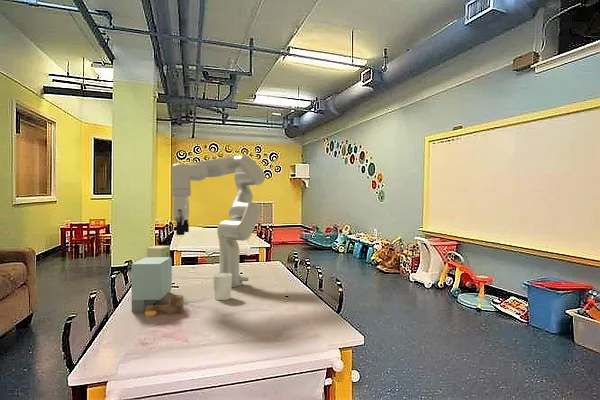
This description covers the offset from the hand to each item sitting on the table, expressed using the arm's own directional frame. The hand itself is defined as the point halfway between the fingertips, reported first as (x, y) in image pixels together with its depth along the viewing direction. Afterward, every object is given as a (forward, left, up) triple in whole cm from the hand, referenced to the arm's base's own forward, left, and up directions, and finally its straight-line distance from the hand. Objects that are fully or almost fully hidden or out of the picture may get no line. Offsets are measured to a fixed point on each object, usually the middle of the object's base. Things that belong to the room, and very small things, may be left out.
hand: (182, 233), depth 169 cm
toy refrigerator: (+12, -8, -28) cm, 31 cm away
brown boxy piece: (+2, +20, -28) cm, 34 cm away
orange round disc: (+6, +23, -28) cm, 37 cm away
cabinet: (+9, +11, -28) cm, 31 cm away
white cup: (-17, +1, -28) cm, 33 cm away
